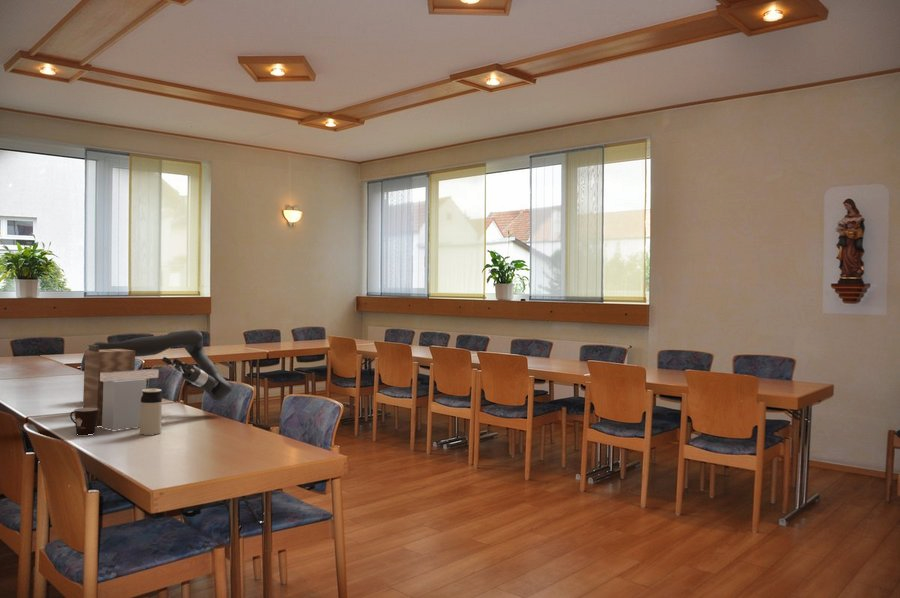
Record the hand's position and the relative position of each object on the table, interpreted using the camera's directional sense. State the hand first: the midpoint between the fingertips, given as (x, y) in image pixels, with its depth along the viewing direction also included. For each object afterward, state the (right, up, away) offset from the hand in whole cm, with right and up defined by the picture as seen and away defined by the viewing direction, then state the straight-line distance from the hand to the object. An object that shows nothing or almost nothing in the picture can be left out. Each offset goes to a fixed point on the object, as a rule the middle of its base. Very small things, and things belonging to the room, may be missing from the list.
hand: (168, 359), depth 310 cm
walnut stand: (-23, -27, -9) cm, 37 cm away
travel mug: (+4, -28, -27) cm, 39 cm away
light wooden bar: (-10, -7, -15) cm, 20 cm away
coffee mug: (-21, -27, -32) cm, 47 cm away
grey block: (-12, -28, -17) cm, 35 cm away
